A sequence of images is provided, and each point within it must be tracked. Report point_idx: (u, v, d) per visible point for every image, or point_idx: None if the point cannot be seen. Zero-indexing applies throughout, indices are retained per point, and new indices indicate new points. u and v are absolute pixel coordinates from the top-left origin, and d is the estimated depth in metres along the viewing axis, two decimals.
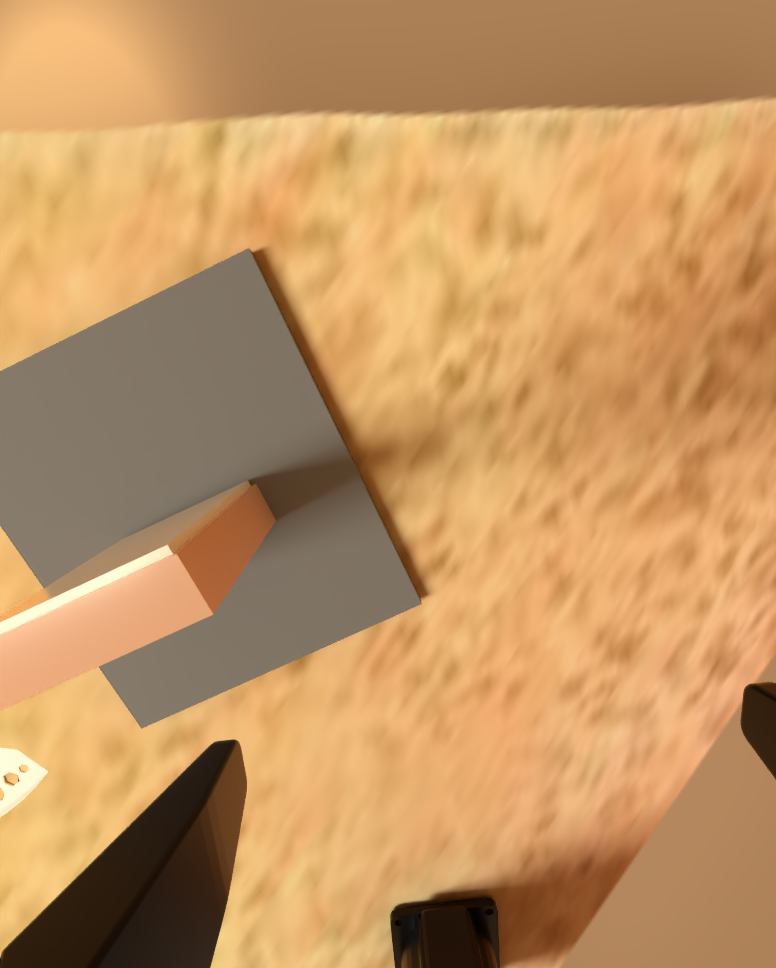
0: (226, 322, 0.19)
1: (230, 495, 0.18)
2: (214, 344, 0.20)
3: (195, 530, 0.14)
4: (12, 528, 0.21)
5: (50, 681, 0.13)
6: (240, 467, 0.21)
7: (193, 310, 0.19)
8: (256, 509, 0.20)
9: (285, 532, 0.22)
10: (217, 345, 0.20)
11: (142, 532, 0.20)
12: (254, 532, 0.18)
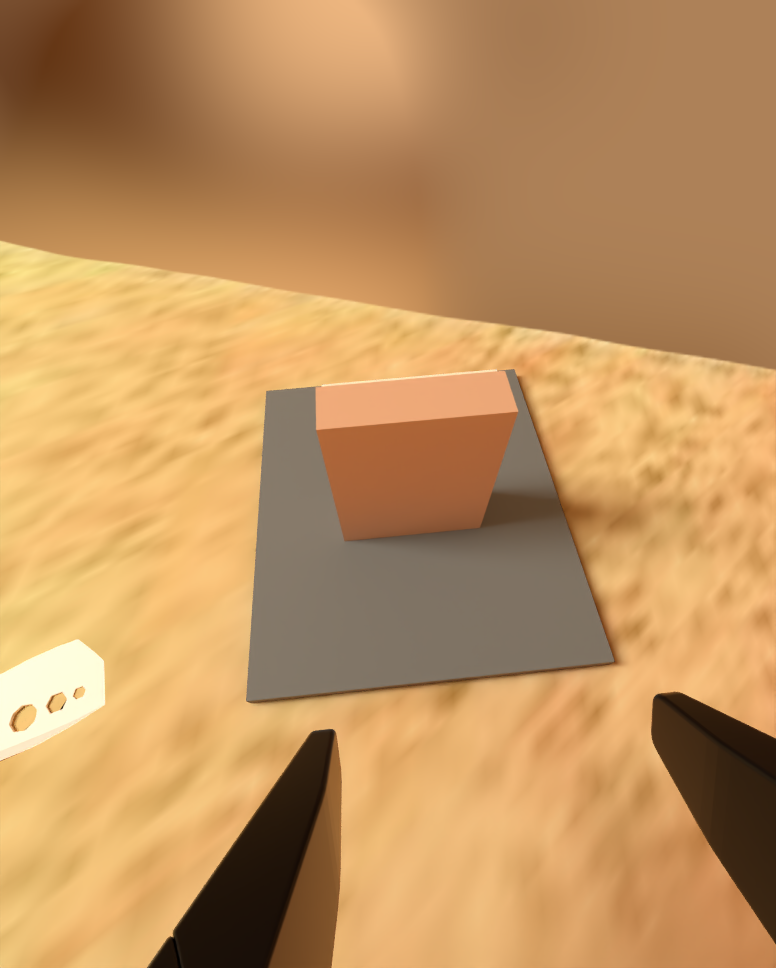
0: None
1: None
2: None
3: None
4: (268, 469, 0.25)
5: (370, 420, 0.16)
6: None
7: None
8: None
9: (485, 540, 0.23)
10: None
11: None
12: None
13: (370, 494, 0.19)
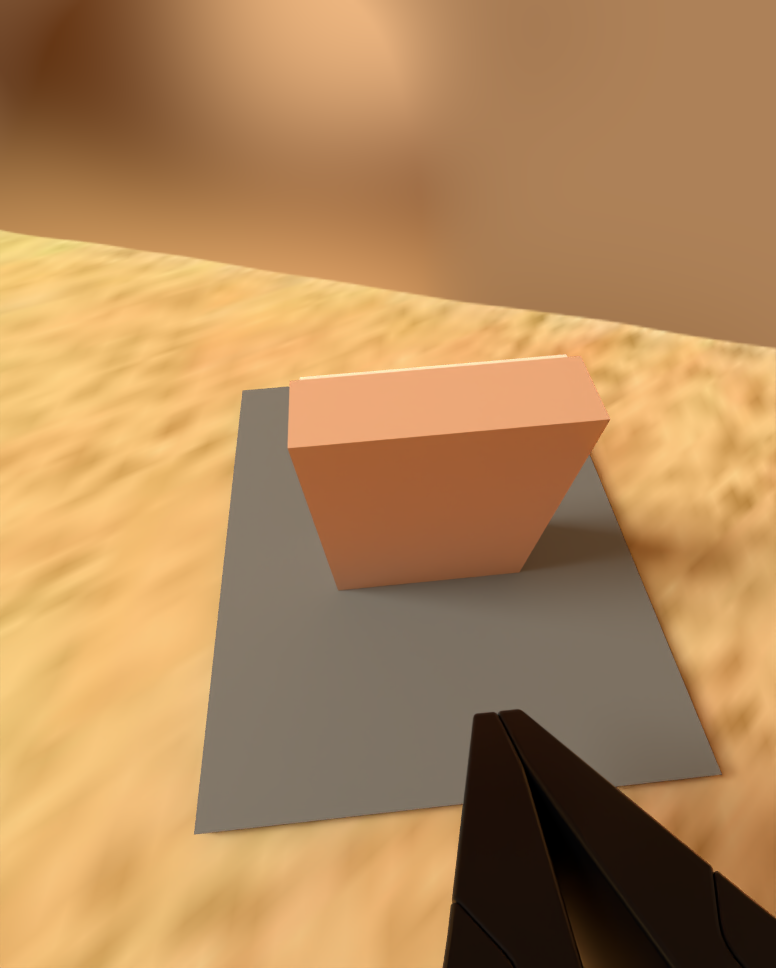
0: None
1: None
2: None
3: None
4: (241, 491, 0.20)
5: (375, 433, 0.10)
6: None
7: None
8: None
9: (527, 590, 0.17)
10: None
11: None
12: None
13: (373, 536, 0.14)
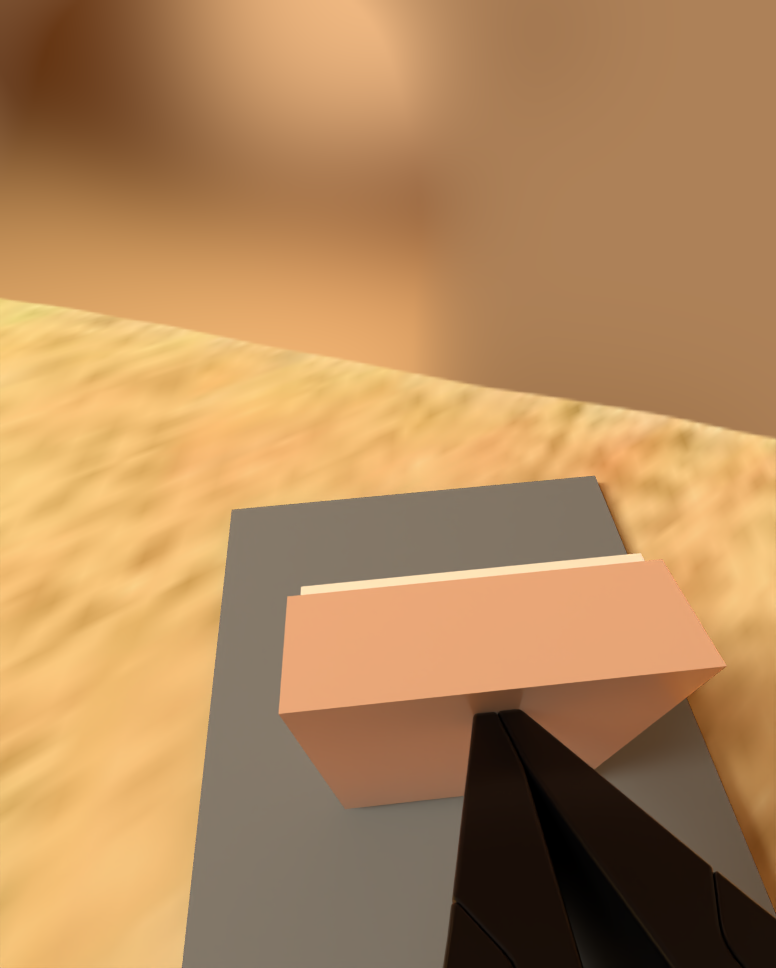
0: (559, 524, 0.19)
1: None
2: (541, 539, 0.18)
3: None
4: (227, 656, 0.16)
5: (400, 688, 0.07)
6: None
7: (528, 506, 0.19)
8: None
9: None
10: (544, 541, 0.18)
11: None
12: None
13: (393, 770, 0.10)
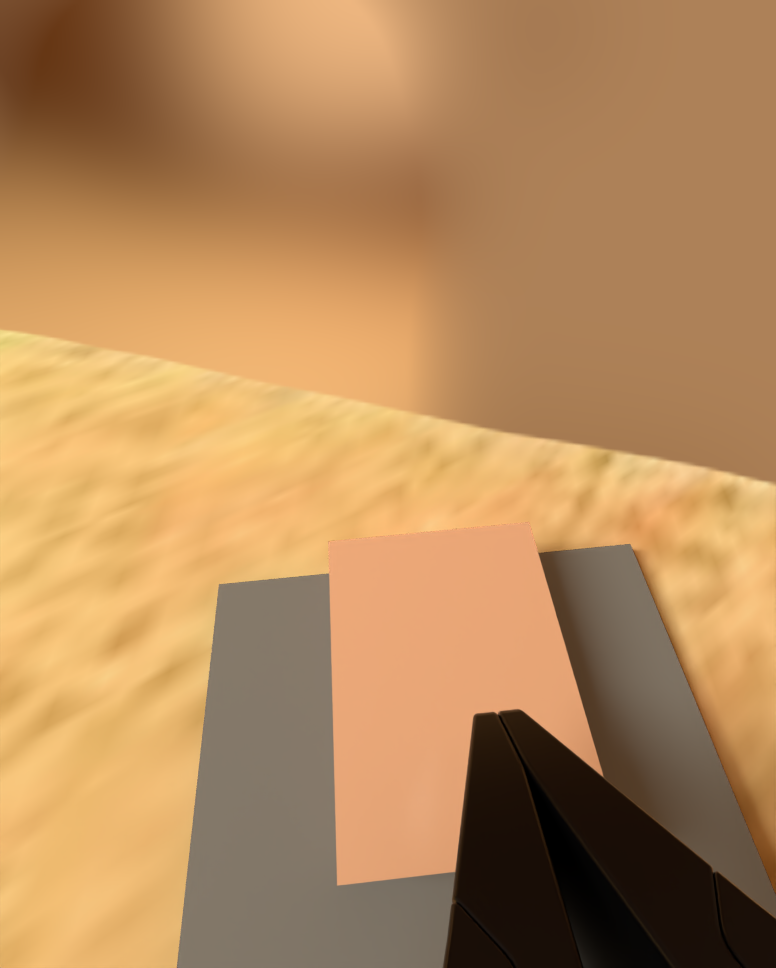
0: (592, 604, 0.16)
1: None
2: (572, 624, 0.16)
3: None
4: (211, 773, 0.14)
5: (383, 538, 0.16)
6: None
7: (556, 581, 0.17)
8: None
9: None
10: (575, 626, 0.16)
11: None
12: None
13: (386, 681, 0.13)
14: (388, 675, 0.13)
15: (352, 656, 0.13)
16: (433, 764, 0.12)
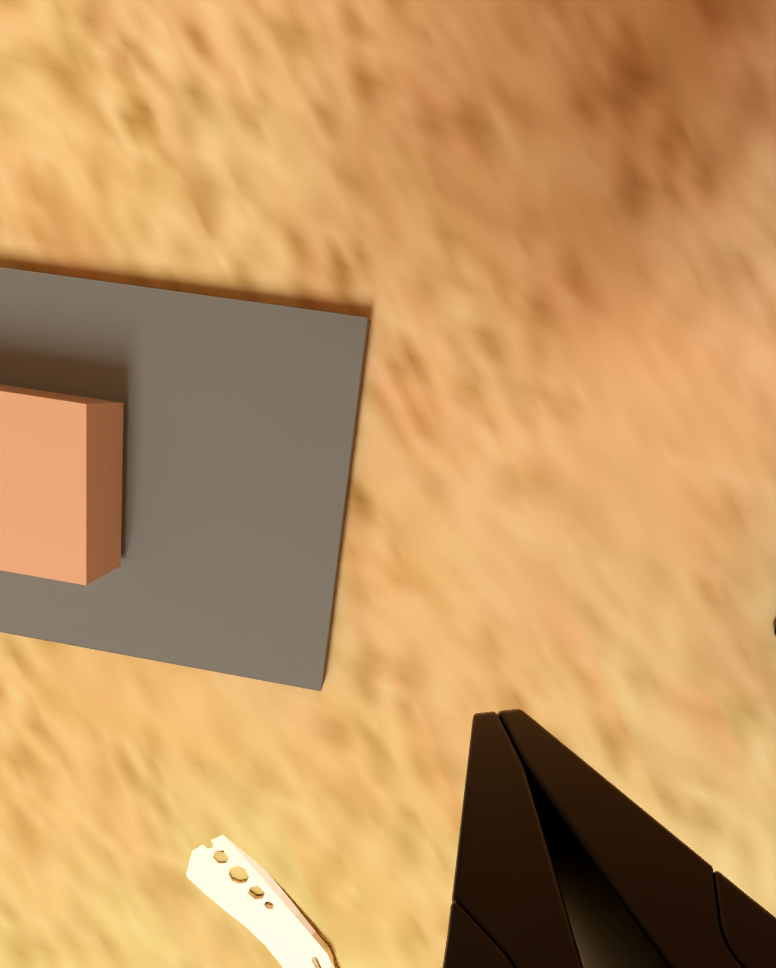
0: None
1: None
2: None
3: None
4: (69, 636, 0.21)
5: None
6: None
7: None
8: (66, 397, 0.17)
9: (199, 410, 0.18)
10: None
11: None
12: (14, 391, 0.17)
13: None
14: None
15: None
16: (30, 511, 0.17)
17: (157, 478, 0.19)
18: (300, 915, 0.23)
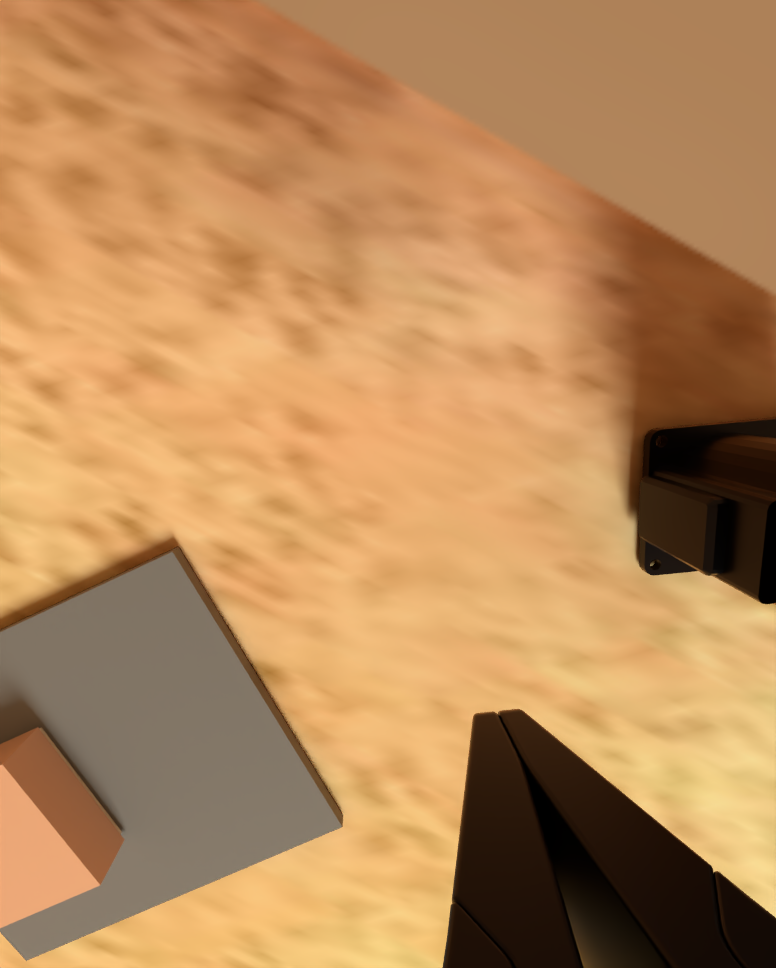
0: None
1: None
2: None
3: None
4: (126, 911, 0.23)
5: None
6: None
7: None
8: None
9: (99, 693, 0.20)
10: None
11: None
12: None
13: None
14: None
15: None
16: (19, 861, 0.19)
17: (105, 759, 0.21)
18: None
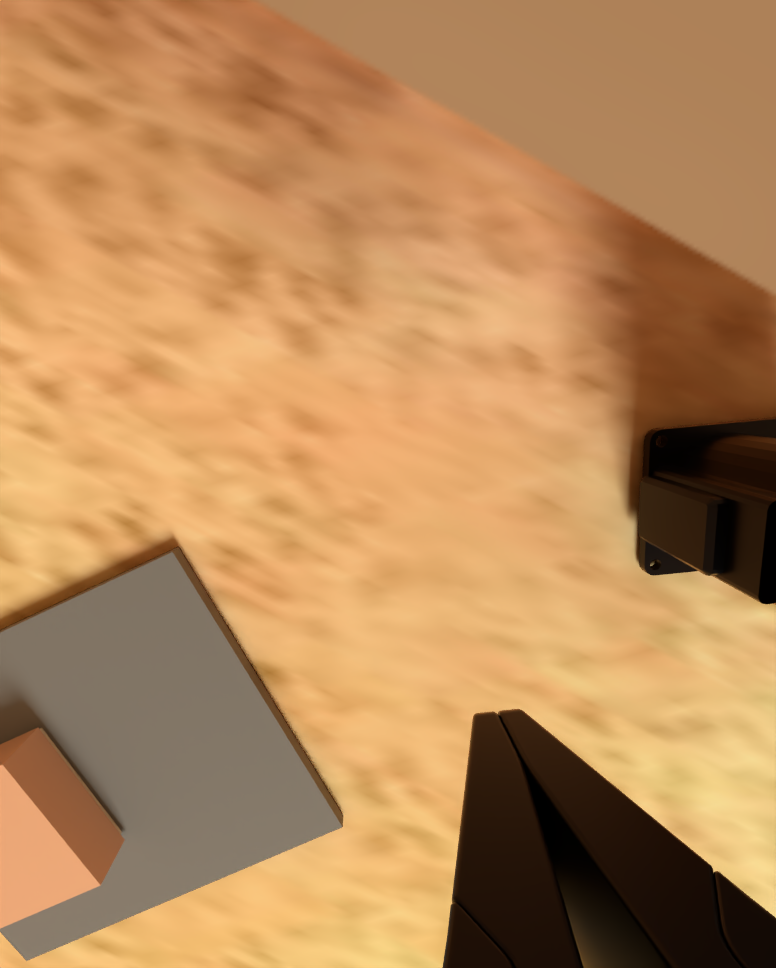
0: None
1: None
2: None
3: None
4: (126, 911, 0.23)
5: None
6: None
7: None
8: None
9: (99, 693, 0.20)
10: None
11: None
12: None
13: None
14: None
15: None
16: (19, 862, 0.19)
17: (105, 760, 0.21)
18: None
